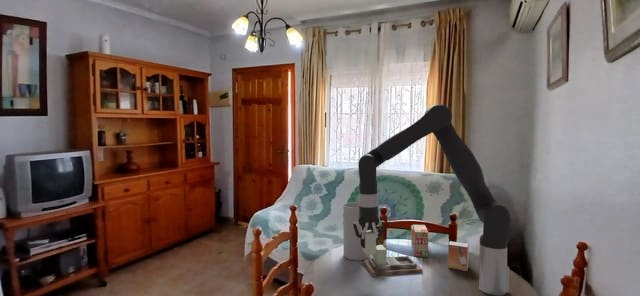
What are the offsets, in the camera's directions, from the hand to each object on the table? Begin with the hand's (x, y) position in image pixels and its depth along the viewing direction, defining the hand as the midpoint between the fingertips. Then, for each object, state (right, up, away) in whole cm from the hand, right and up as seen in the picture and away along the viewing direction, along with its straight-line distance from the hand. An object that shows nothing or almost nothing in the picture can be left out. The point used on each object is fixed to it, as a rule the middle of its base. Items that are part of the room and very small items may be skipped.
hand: (369, 246), depth 133 cm
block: (+7, -12, +14) cm, 19 cm away
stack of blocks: (+31, -13, +38) cm, 51 cm away
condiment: (+11, -13, +40) cm, 44 cm away
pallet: (+12, -13, +14) cm, 23 cm away
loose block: (0, -2, 0) cm, 2 cm away
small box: (+41, -14, +14) cm, 46 cm away
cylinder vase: (-2, -13, +29) cm, 32 cm away
